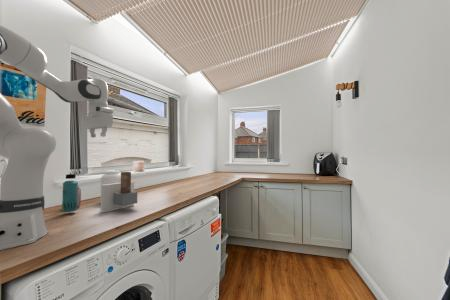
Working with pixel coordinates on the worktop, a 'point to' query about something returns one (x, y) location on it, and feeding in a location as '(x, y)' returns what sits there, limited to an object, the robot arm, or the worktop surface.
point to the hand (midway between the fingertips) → (98, 136)
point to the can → (111, 177)
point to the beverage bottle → (70, 194)
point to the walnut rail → (125, 182)
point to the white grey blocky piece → (116, 197)
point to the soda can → (79, 197)
